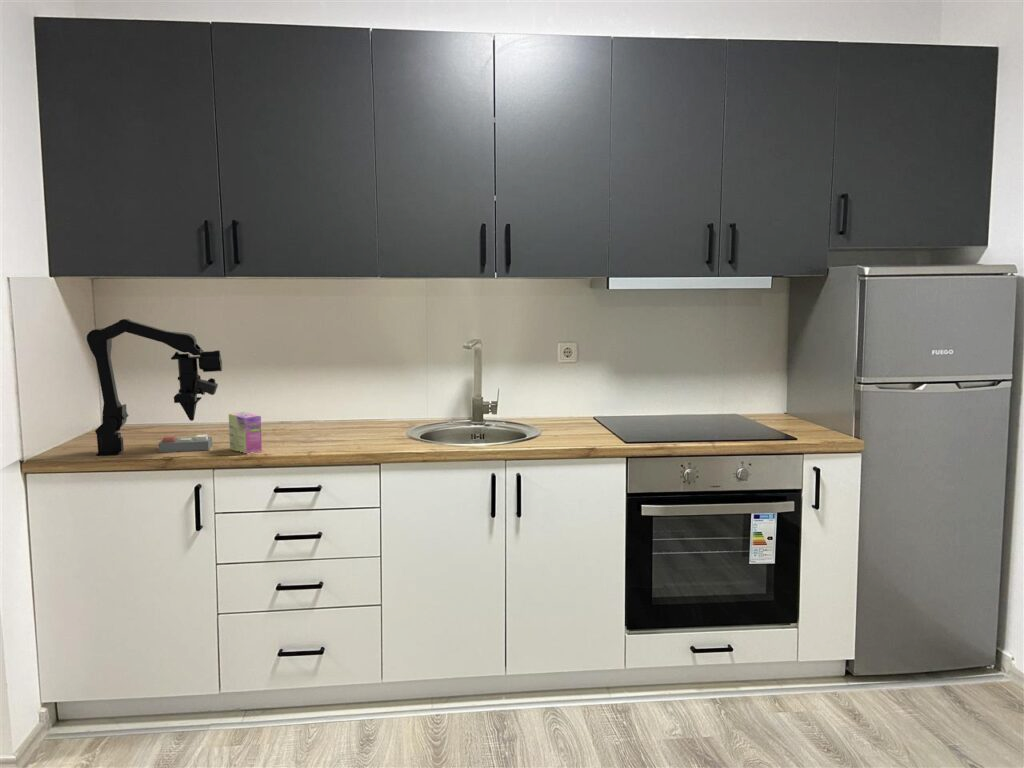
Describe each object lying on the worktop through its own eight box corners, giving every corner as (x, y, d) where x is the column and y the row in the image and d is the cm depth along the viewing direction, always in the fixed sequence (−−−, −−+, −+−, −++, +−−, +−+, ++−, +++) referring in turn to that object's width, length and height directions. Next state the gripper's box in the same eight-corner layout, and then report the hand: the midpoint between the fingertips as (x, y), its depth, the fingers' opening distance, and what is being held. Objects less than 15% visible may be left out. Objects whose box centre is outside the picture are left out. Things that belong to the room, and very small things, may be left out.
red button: (163, 444, 253) (162, 438, 252) (165, 442, 256) (164, 436, 255) (173, 443, 253) (173, 437, 253) (175, 441, 256) (175, 435, 256)
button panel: (158, 452, 251) (158, 443, 250) (164, 447, 258) (163, 438, 257) (208, 450, 254) (207, 441, 253) (212, 445, 261) (211, 436, 260)
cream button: (195, 442, 255) (195, 436, 254) (197, 440, 258) (197, 434, 257) (206, 442, 255) (206, 436, 255) (208, 440, 258) (207, 434, 258)
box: (262, 451, 252) (261, 415, 250) (246, 454, 248) (244, 417, 246) (245, 447, 259) (244, 411, 257) (229, 449, 255) (227, 413, 253)
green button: (179, 446, 254) (179, 440, 253) (181, 444, 257) (181, 438, 257) (190, 445, 254) (189, 439, 254) (192, 443, 257) (191, 437, 257)
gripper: (209, 375, 245) (213, 424, 247) (219, 368, 263) (222, 414, 266) (171, 376, 243) (175, 426, 245) (184, 369, 261) (187, 415, 263)
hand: (191, 420), depth 255 cm, fingers closed
